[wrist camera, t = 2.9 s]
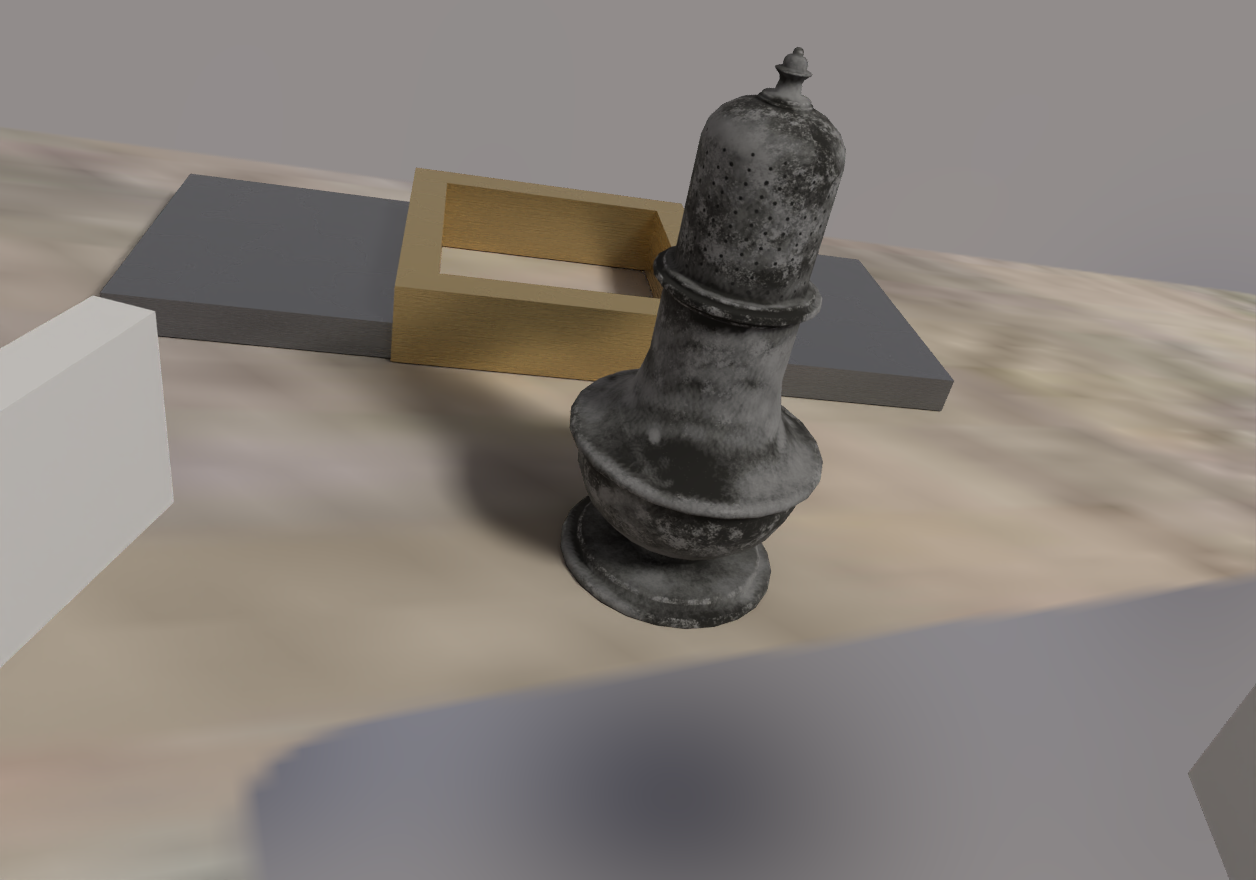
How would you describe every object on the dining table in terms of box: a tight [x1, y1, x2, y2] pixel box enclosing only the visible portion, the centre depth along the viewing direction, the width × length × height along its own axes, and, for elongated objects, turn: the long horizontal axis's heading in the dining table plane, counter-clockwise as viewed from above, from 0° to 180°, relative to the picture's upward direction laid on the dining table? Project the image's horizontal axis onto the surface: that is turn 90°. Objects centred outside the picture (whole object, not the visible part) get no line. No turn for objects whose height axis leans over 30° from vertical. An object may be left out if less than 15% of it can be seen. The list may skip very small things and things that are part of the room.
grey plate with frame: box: [100, 168, 954, 411], centre depth 33 cm, size 26×10×2 cm, turn 97°
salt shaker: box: [561, 47, 846, 629], centre depth 20 cm, size 6×6×12 cm
